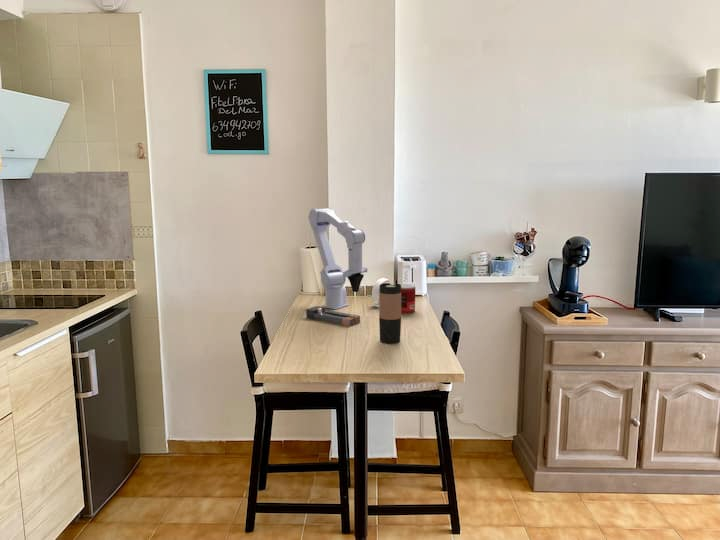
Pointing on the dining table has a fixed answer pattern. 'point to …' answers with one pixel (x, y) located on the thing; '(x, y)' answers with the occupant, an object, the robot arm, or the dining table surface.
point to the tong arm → (345, 315)
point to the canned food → (407, 298)
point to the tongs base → (328, 316)
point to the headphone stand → (377, 290)
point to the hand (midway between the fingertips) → (355, 291)
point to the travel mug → (390, 313)
